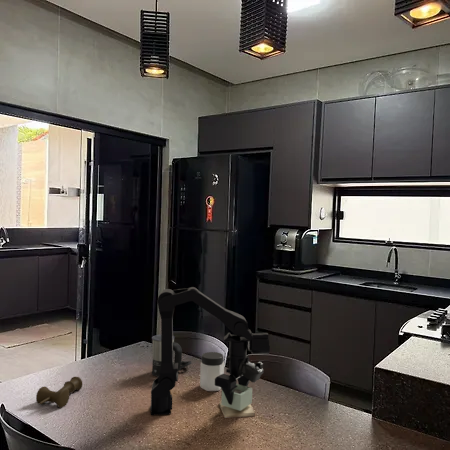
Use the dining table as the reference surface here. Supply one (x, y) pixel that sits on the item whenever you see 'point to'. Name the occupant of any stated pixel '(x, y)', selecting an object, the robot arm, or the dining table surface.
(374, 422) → the dining table surface
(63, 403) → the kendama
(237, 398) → the sleeve
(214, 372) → the jar
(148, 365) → the dining table surface
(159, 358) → the milk frother
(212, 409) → the dining table surface
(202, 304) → the robot arm
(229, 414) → the knob on square plate
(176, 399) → the dining table surface
